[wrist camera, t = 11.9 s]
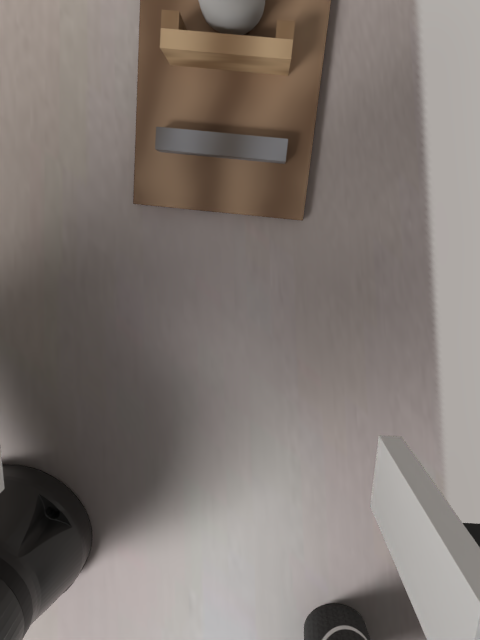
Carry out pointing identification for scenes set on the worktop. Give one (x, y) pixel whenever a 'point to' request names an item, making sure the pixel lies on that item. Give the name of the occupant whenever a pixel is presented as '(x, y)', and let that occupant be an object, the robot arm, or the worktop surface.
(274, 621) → the worktop surface
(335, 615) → the coffee cup
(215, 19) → the beverage can
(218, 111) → the board
